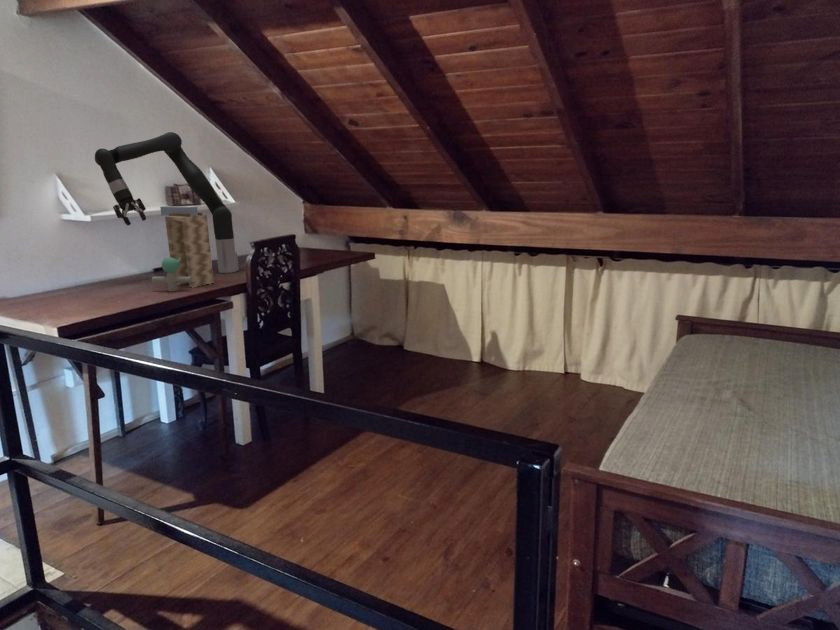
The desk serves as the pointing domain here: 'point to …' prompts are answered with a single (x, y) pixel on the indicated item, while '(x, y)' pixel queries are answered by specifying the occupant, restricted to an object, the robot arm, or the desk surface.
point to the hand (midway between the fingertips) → (137, 222)
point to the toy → (171, 274)
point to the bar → (179, 210)
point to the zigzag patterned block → (190, 247)
